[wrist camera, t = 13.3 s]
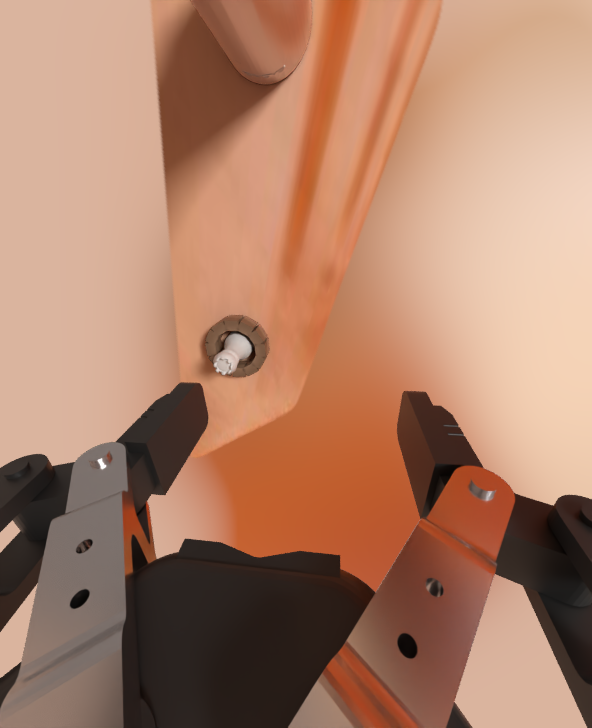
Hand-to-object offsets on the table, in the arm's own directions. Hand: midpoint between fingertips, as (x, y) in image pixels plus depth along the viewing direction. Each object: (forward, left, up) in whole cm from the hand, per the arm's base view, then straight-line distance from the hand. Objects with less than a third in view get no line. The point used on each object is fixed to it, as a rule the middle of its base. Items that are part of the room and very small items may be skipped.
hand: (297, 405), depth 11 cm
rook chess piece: (+10, -13, -30) cm, 34 cm away
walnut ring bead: (+10, -13, -30) cm, 34 cm away
